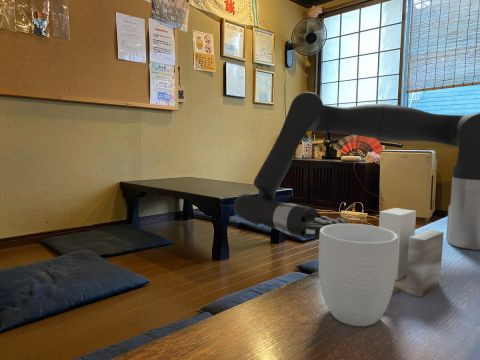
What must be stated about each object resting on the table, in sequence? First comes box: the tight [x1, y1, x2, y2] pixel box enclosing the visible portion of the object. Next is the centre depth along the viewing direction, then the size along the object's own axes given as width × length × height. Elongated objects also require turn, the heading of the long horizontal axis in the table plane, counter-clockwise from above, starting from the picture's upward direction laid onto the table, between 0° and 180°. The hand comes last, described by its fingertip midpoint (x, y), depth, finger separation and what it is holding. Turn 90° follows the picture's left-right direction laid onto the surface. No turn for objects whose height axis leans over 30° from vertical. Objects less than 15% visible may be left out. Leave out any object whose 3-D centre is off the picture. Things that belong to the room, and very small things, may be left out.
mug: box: [317, 223, 398, 327], centre depth 52 cm, size 15×11×13 cm
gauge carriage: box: [378, 207, 417, 280], centre depth 64 cm, size 4×10×12 cm, turn 129°
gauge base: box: [392, 229, 444, 298], centre depth 65 cm, size 14×10×10 cm
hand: (359, 235), depth 71 cm, fingers closed
